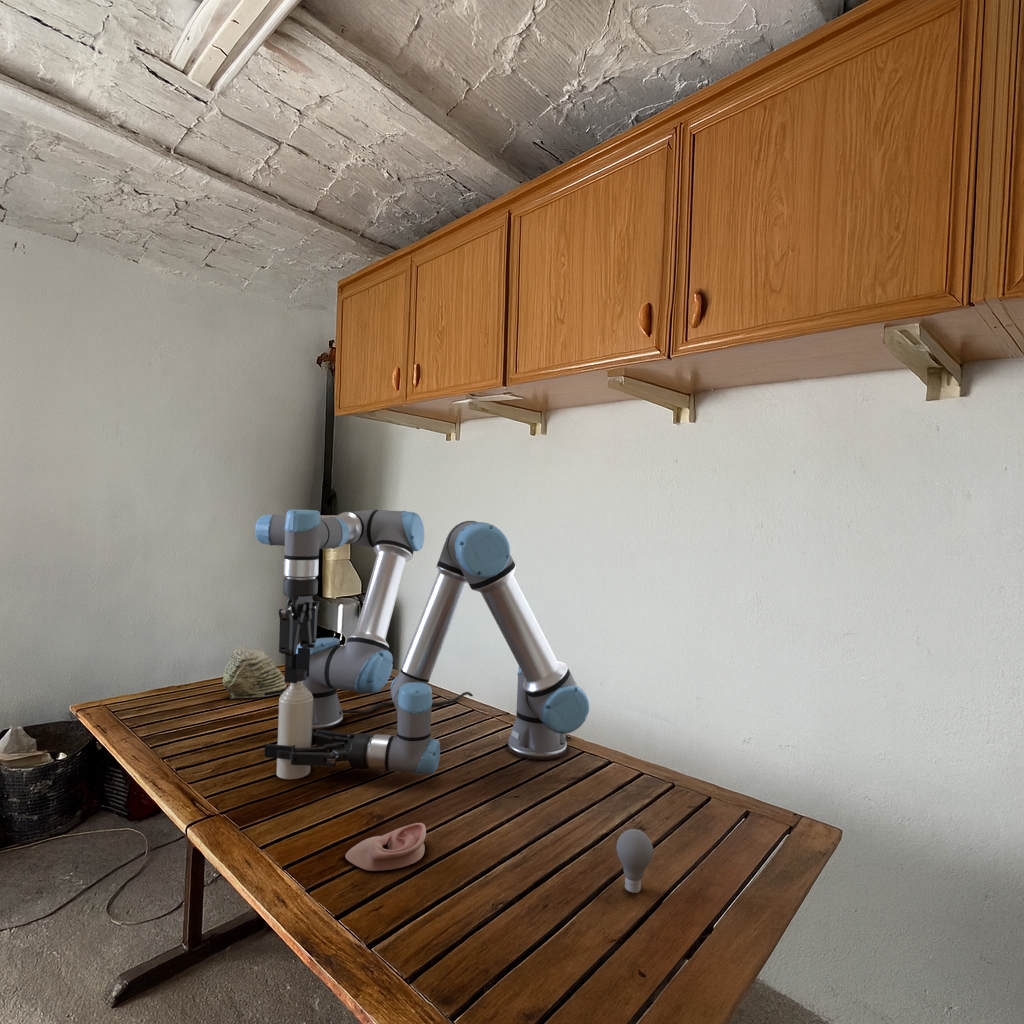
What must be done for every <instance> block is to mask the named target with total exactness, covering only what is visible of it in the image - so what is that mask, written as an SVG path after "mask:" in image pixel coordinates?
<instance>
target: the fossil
mask: <svg viewBox="0 0 1024 1024" xmlns="http://www.w3.org/2000/svg"><path fill="white" fill-rule="evenodd" d="M222 676H223V677H222V685H223V687H224V688H225V690H226V691H228V693H229V698H230V699H250V698H264V697H271V696H275V695H281V694H283V692H284V691H286V689H287V688H288V686H287V682H284V680H285V675H284V674H283V673H282V672H281V669H279V668H278V667H277V665H276V663H275V662H274V660H273V659H272V658H271V657H270V656H269V655H268V654H267V653H266V652H265V650H264V649H263V648H260V647H258V648H251V647H247V646H246V647H245V646H238V647H237V648H236V649H235V650H233V651H232V653H231V656H230V657H229V659H228V660H227V663H226V666H225V668H224V671H223V675H222Z"/></svg>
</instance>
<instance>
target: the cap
mask: <svg viewBox="0 0 1024 1024" xmlns="http://www.w3.org/2000/svg"><path fill="white" fill-rule="evenodd" d="M306 679H307V670H306V669H298V674H297V682H299V681H304V680H306Z"/></svg>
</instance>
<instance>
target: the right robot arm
mask: <svg viewBox="0 0 1024 1024" xmlns="http://www.w3.org/2000/svg"><path fill="white" fill-rule="evenodd" d="M516 568H517V564H516V563H515V561H514V560H513V557H512V555H511V547H510V543H509V540H508V537H507V536H506V535H505V534H504V532H503V531H502V530H501V529H499V528H498V527H497V526H495V525H493V524H491V523H489V522H481V521H476V520H466V521H461V522H460V523H458V524H456V525H455V526H453V528H451V529H450V531H449V532H448V534H447V537H446V538H445V541H444V544H443V546H442V550H441V552H440V555H439V558H438V561H437V564H436V569H437V575H436V578H435V580H434V583H433V585H432V588H431V590H430V593H429V596H428V597H427V601H426V602H425V606H424V609H423V611H422V614H421V616H420V618H419V621H418V624H417V626H416V629H415V631H414V633H413V636H412V640H411V642H410V644H409V647H408V650H407V651H406V655H405V657H404V659H403V662H402V664H401V668H400V670H399V672H398V674H397V676H396V677H395V678H393V680H392V682H391V684H390V698H391V700H392V702H394V705H393V706H394V708H395V712H396V716H397V721H396V723H397V724H396V735H391V734H379V733H375V734H374V735H373V734H372V733H362V732H358V733H355V732H340V731H334V730H320V729H318V730H316V732H312V747H309V748H295V745H293V746H285V745H277V744H272V743H266V744H264V758H267V759H269V758H270V759H277V758H279V759H291V765H311V767H312V766H313V767H315V766H318V767H328V768H335V767H337V762H338V763H339V762H348V763H349V766H350V767H351V769H356V770H367V769H369V770H371V771H380V773H385V772H395V773H403V774H413V775H433V774H435V772H437V770H438V767H439V763H440V759H441V743H440V741H439V739H435V738H433V737H432V733H431V727H432V725H431V724H432V709H433V706H432V703H434V702H433V701H434V700H433V689H432V686H430V685H429V683H430V680H431V677H432V674H433V672H434V669H435V667H436V664H437V661H438V659H439V657H440V653H441V652H442V649H443V646H444V643H445V641H446V638H447V636H448V633H449V630H450V628H451V625H452V623H453V620H454V618H455V615H456V613H457V610H458V607H459V604H460V603H461V599H462V598H463V594H464V592H465V589H466V587H467V584H468V587H470V590H471V591H475V592H478V593H480V594H481V597H482V598H483V600H484V602H485V604H486V606H487V608H488V610H489V611H490V613H491V615H492V618H493V619H494V621H495V623H496V625H497V626H498V629H499V630H500V633H501V634H502V636H503V638H504V640H505V642H506V644H507V646H508V648H509V649H510V652H511V653H512V655H513V658H514V659H515V661H516V663H517V665H518V671H517V689H516V712H515V713H516V714H515V715H516V716H515V720H514V722H513V725H512V728H511V731H510V733H509V736H508V739H507V740H508V741H507V749H508V751H509V752H510V753H512V754H514V755H515V756H517V757H519V758H523V759H527V760H533V761H549V760H550V761H551V760H555V759H559V758H561V757H563V756H564V755H566V753H567V749H568V743H567V740H570V739H572V737H571V735H569V734H570V733H573V732H575V731H577V730H578V729H579V728H580V727H582V726H583V724H584V723H585V722H586V720H587V717H588V714H589V712H590V699H589V697H588V695H587V693H586V692H585V690H583V688H582V687H580V686H579V685H578V684H577V683H576V681H575V679H574V677H573V675H572V673H571V670H570V669H569V667H568V665H567V664H566V663H565V662H563V661H558V660H557V657H556V656H555V654H554V651H553V650H552V647H551V645H550V644H549V641H548V639H547V638H546V636H545V634H544V632H543V630H542V628H541V627H540V625H539V622H538V620H537V618H536V616H535V615H534V612H533V611H532V609H531V607H530V605H529V603H528V601H527V599H526V597H525V595H524V593H523V591H522V589H521V587H520V585H519V582H517V579H516V578H515V575H514V574H515V571H516ZM568 736H570V737H568Z"/></svg>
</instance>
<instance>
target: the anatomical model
mask: <svg viewBox="0 0 1024 1024" xmlns="http://www.w3.org/2000/svg"><path fill="white" fill-rule="evenodd" d="M426 837H427V827H426V824H425V823H423V822H415V823H412V824H408V825H404V826H402V827H399V828H396V829H394V830H392V831H390V832H388V833H384V834H382V835H375V836H372V837H367V838H365V839H364V840H361V841H360V842H358V843H357V844H356V845H353V847H351V848H350V849H349V850H348V851H347V852H346V853H345V856H344V857H345V860H347V862H349V863H350V864H352V865H354V866H356V867H357V868H360V869H362V870H364V871H367V872H378V871H380V872H381V871H389V870H396V869H400V868H404V867H407V866H410V865H412V864H415V863H417V862H418V861H420V860H421V859H422V858H423V857H424V854H425V851H426V849H425V848H426V846H425V843H424V842H425V840H426Z"/></svg>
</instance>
